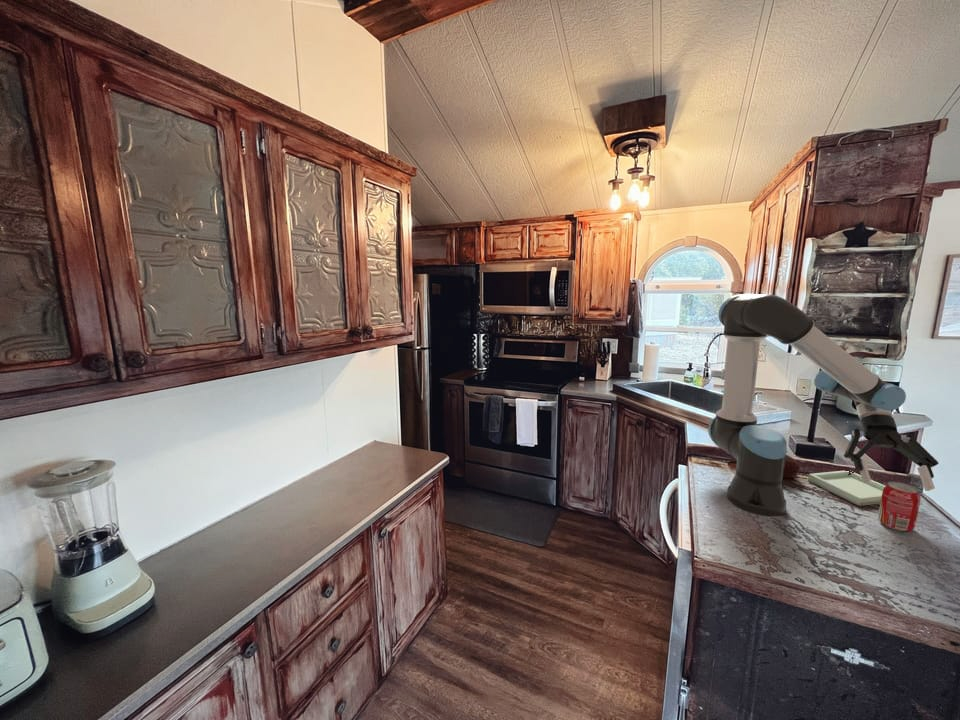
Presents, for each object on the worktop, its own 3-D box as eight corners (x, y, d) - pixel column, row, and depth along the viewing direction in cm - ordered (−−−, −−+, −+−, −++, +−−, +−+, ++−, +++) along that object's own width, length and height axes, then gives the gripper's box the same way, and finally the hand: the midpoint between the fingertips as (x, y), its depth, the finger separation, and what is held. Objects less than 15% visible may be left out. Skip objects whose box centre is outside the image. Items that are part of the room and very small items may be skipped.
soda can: (896, 518, 110) (904, 480, 107) (922, 534, 103) (930, 493, 101) (869, 518, 110) (876, 480, 108) (893, 533, 103) (901, 493, 101)
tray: (858, 505, 116) (860, 498, 116) (807, 480, 132) (808, 473, 132) (902, 501, 118) (904, 493, 118) (847, 476, 134) (848, 470, 134)
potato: (806, 482, 131) (809, 459, 130) (777, 484, 130) (780, 462, 128) (777, 467, 142) (779, 446, 141) (750, 469, 141) (752, 448, 139)
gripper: (922, 427, 118) (948, 496, 107) (821, 419, 127) (836, 482, 116) (938, 417, 112) (968, 488, 101) (831, 409, 121) (848, 474, 110)
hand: (897, 485), depth 109 cm, fingers open, 13 cm apart
